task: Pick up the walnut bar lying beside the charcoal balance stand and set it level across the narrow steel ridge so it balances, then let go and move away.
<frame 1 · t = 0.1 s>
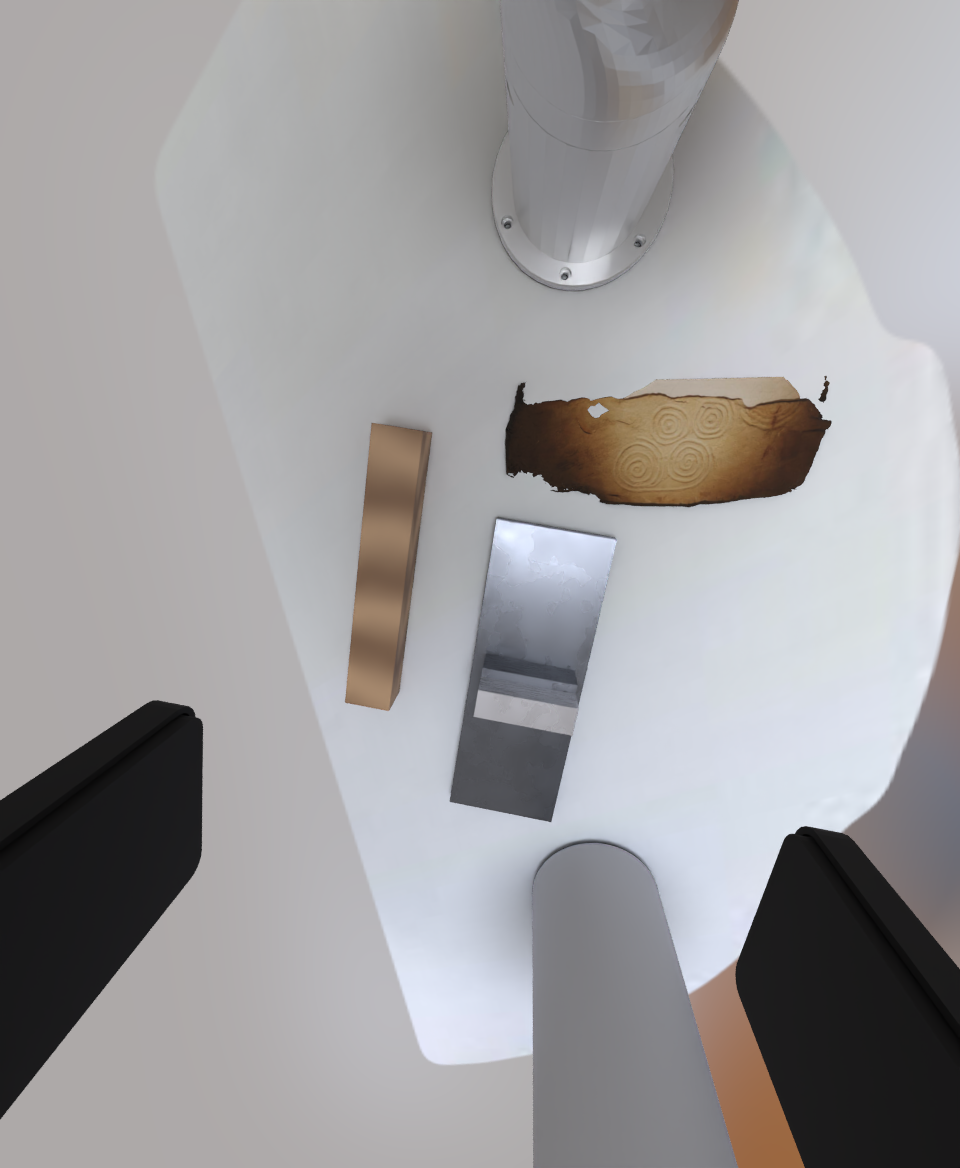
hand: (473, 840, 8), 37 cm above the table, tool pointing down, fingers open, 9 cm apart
cylinder vase: (593, 887, 53), on the table
balance stand: (526, 676, 47), on the table
walnut bar: (393, 566, 46), on the table
parchment: (660, 443, 41), on the table
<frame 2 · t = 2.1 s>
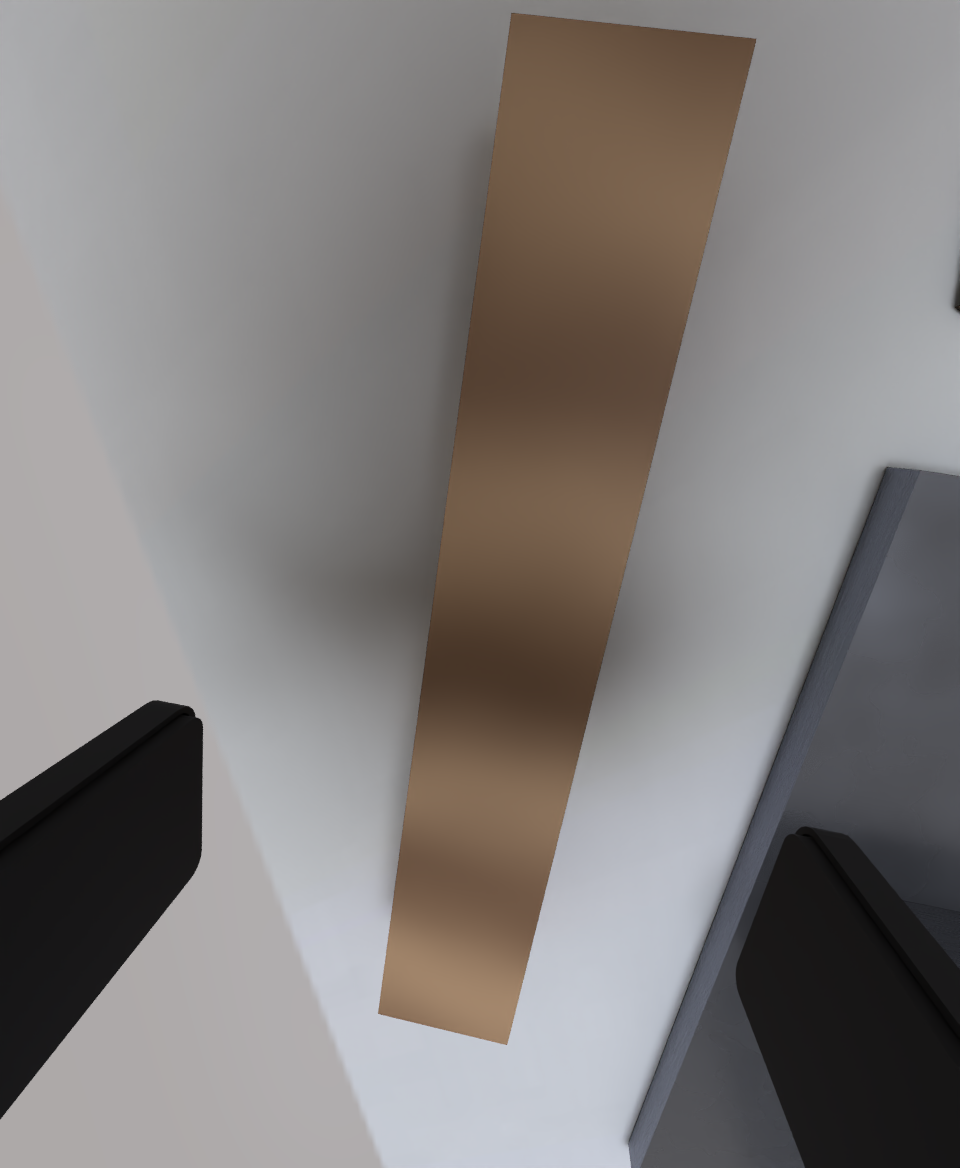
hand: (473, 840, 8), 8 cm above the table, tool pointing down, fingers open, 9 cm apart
balance stand: (879, 919, 17), on the table
walnut bar: (516, 618, 16), on the table
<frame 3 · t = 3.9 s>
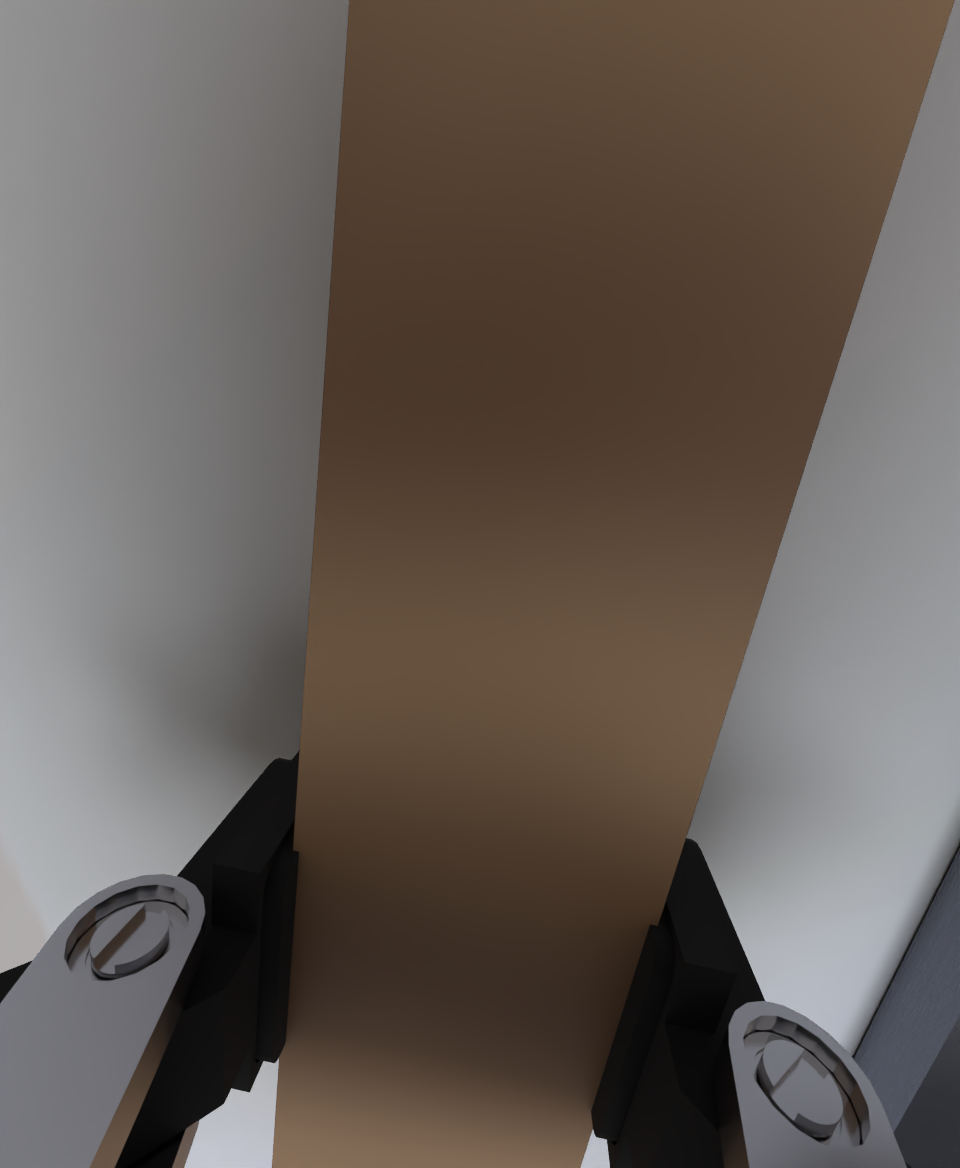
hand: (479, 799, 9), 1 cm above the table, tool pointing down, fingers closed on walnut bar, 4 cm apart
walnut bar: (483, 775, 10), on the table, touching gripper
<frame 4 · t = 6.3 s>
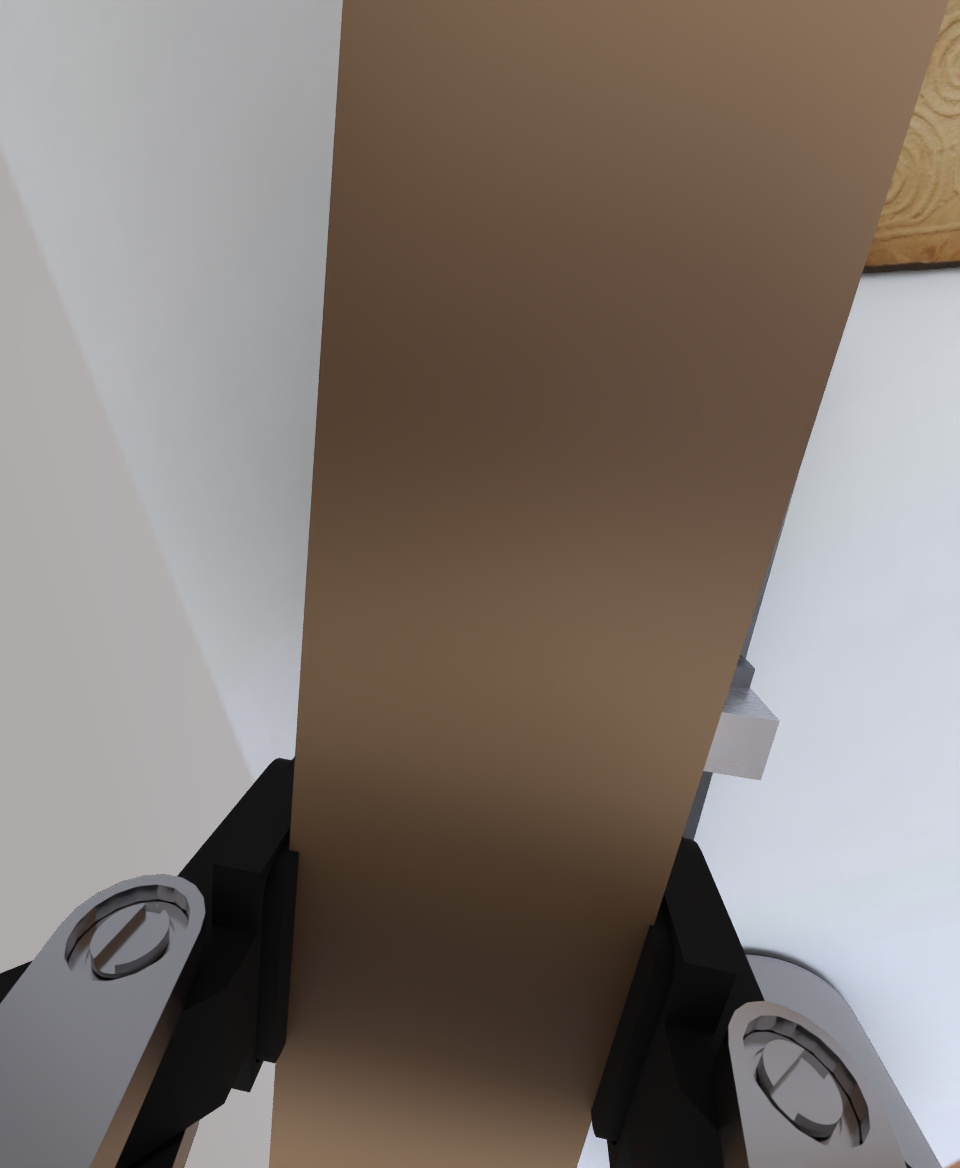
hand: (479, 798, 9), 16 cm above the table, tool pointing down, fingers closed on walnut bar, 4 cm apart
cylinder vase: (736, 1025, 30), on the table
balance stand: (622, 657, 25), on the table
walnut bar: (481, 775, 10), point 15 cm above the table, touching gripper
parchment: (930, 128, 19), on the table
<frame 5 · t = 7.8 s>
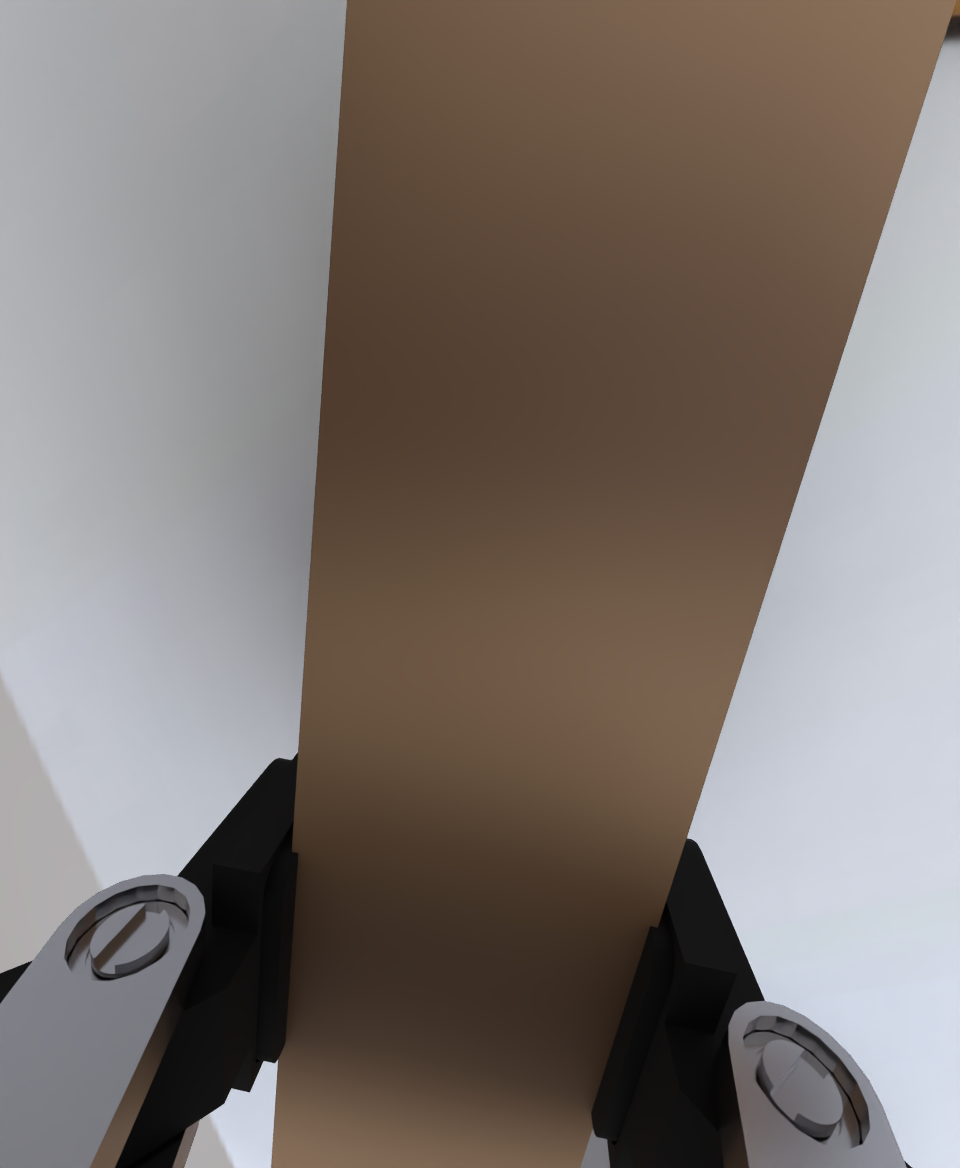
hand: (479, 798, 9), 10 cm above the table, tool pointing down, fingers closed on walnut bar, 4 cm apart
cylinder vase: (659, 1092, 24), on the table
walnut bar: (482, 778, 10), point 9 cm above the table, touching gripper
when the fingers open (8 cm above the table, at t = 8.8 s): walnut bar stays where it is, resting on balance stand.
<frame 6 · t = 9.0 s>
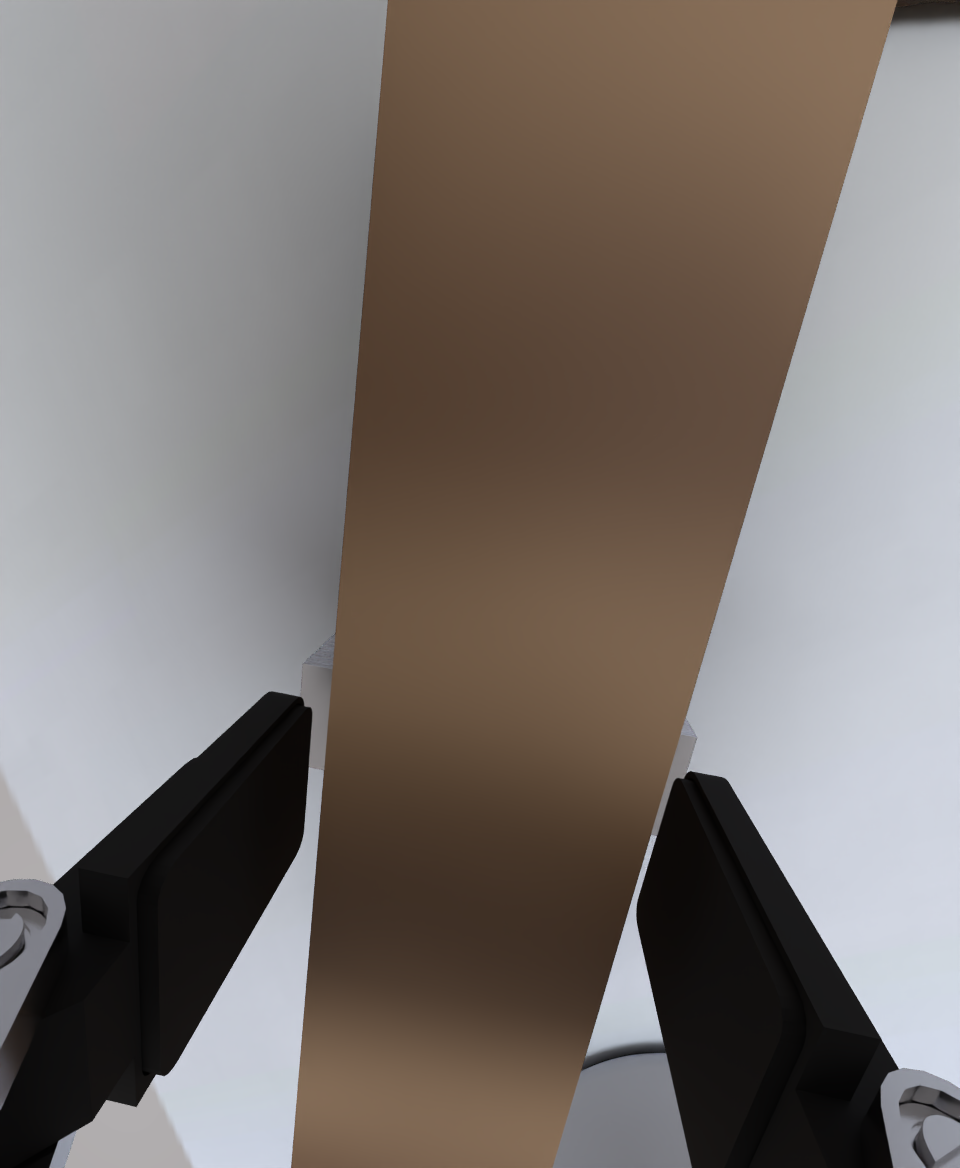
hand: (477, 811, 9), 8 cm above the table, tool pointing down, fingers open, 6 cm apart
cylinder vase: (667, 1141, 22), on the table
balance stand: (503, 636, 17), on the table
walnut bar: (486, 751, 11), point 7 cm above the table, touching balance stand
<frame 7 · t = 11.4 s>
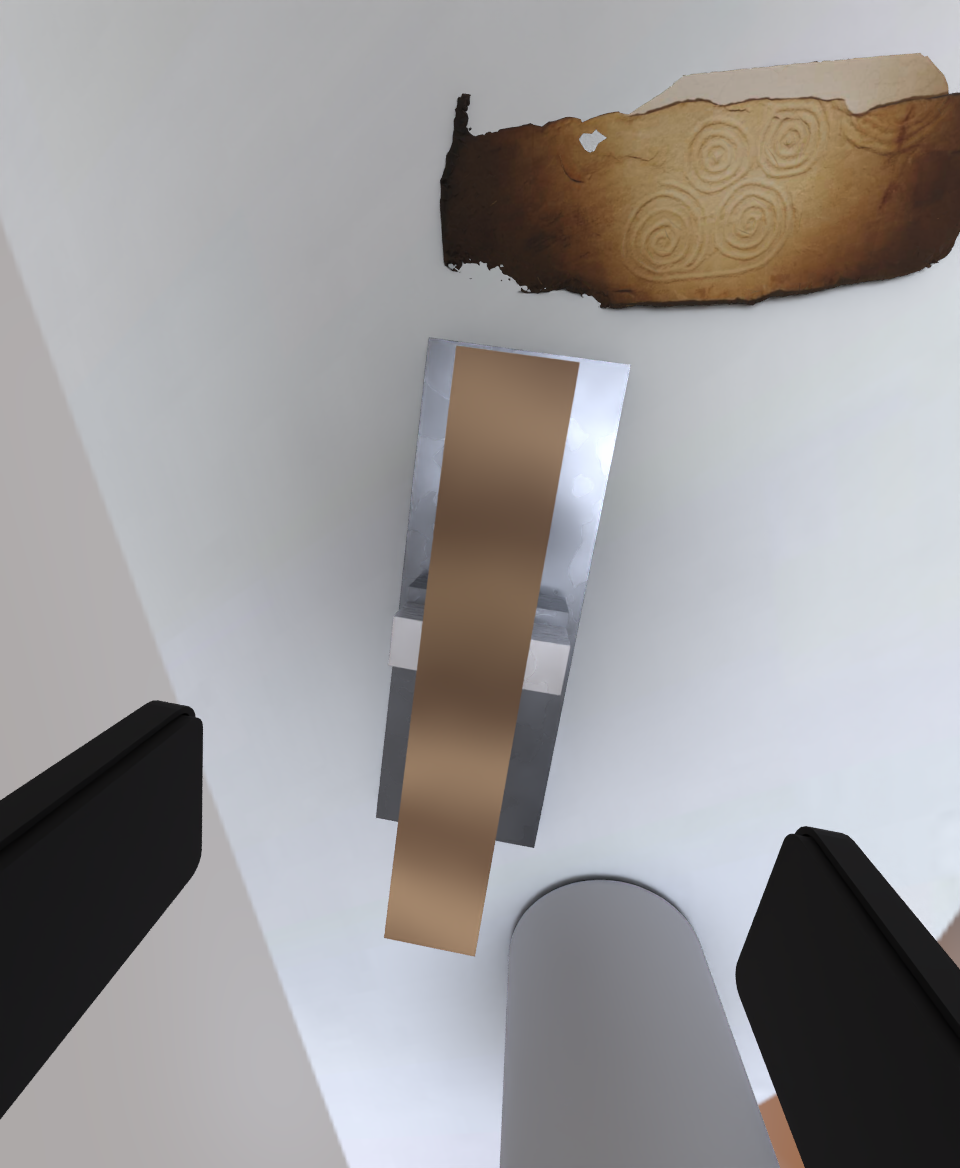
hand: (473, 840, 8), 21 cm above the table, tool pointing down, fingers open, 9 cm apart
cylinder vase: (602, 948, 34), on the table
balance stand: (488, 613, 30), on the table
walnut bar: (477, 656, 23), point 7 cm above the table, touching balance stand
parchment: (701, 200, 24), on the table
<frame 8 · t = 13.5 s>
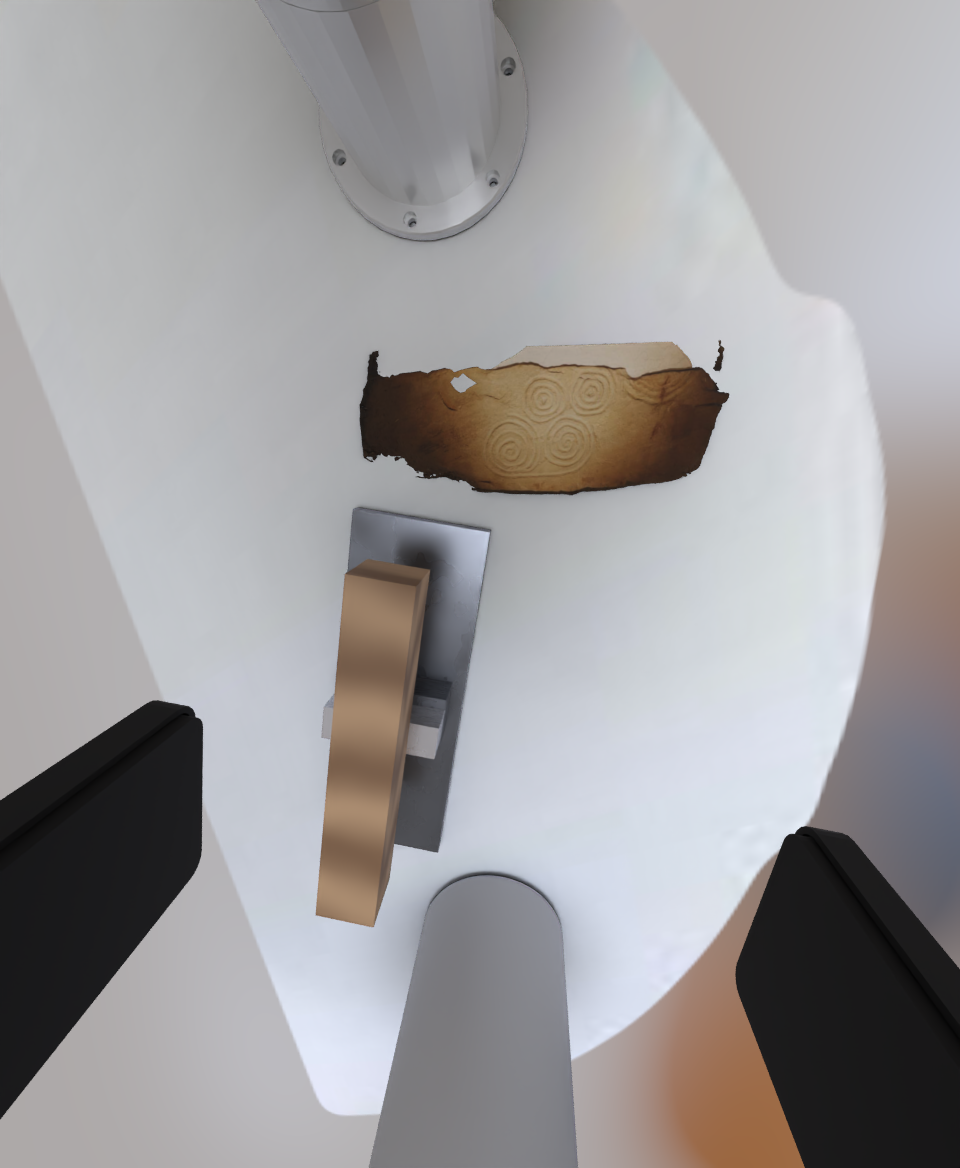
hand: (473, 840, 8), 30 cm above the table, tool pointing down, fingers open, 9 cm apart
cylinder vase: (493, 924, 47), on the table
balance stand: (402, 688, 41), on the table
walnut bar: (379, 733, 35), point 7 cm above the table, touching balance stand
parchment: (537, 422, 36), on the table
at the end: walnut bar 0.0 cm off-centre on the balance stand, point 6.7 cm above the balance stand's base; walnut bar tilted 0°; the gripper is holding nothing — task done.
